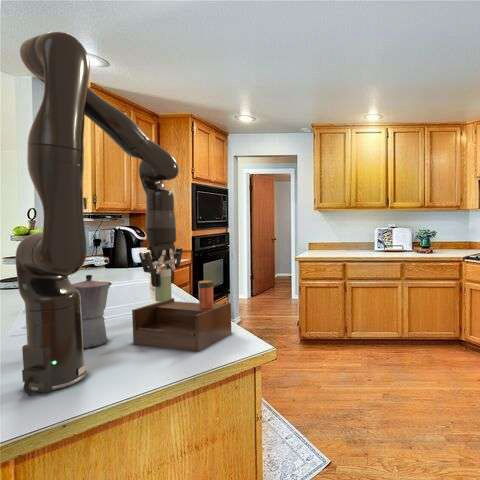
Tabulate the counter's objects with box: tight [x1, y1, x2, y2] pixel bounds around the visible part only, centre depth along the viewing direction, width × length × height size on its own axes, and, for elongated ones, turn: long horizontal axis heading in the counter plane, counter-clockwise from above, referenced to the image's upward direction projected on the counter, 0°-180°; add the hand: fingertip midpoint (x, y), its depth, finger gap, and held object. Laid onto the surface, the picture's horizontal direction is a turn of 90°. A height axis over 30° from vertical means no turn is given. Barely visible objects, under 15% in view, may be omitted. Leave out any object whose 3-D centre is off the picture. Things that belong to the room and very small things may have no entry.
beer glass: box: [148, 275, 159, 304], centre depth 129 cm, size 7×7×15 cm
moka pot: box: [71, 274, 113, 349], centre depth 100 cm, size 10×15×20 cm, turn 164°
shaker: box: [155, 267, 173, 302], centre depth 102 cm, size 4×4×9 cm
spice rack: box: [131, 297, 232, 352], centre depth 106 cm, size 15×22×10 cm
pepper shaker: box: [197, 279, 214, 309], centre depth 108 cm, size 4×4×8 cm
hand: (163, 284), depth 102 cm, fingers closed on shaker, 4 cm apart
